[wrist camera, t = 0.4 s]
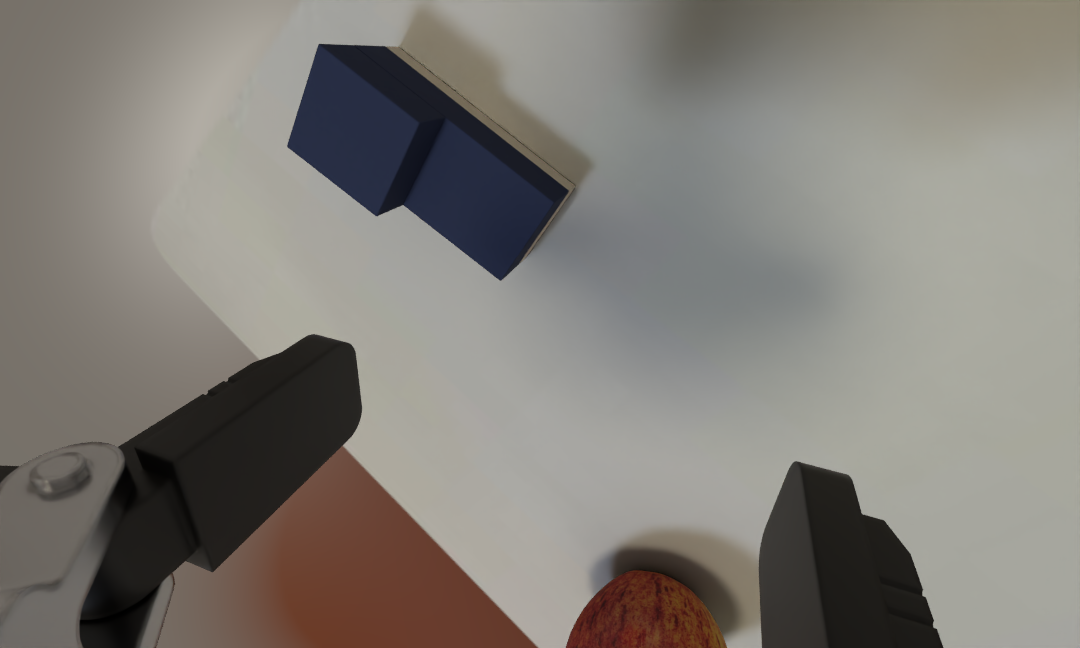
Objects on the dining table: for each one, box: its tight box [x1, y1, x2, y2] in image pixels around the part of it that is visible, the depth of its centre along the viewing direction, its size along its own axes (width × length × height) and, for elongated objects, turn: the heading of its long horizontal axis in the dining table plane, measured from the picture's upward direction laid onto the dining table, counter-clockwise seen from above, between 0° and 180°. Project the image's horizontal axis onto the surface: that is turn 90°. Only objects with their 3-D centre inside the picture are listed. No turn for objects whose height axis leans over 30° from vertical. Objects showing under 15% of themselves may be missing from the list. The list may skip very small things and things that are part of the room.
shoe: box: [287, 44, 575, 281], centre depth 22 cm, size 10×4×5 cm, turn 56°
